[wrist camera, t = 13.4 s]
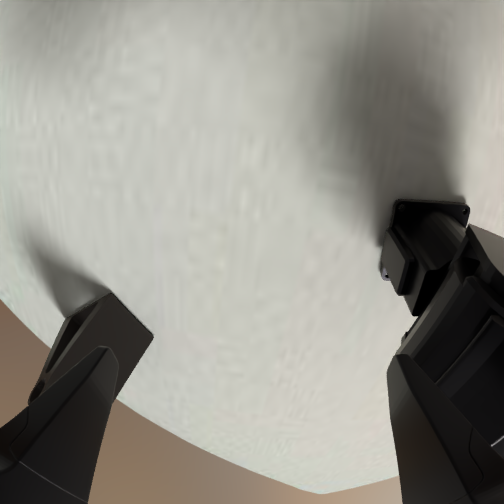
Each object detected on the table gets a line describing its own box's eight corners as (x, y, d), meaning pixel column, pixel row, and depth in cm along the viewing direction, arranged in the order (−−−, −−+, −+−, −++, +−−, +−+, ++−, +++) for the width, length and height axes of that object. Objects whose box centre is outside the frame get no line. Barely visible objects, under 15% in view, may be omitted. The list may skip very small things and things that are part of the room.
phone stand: (112, 291, 25) (51, 402, 15) (155, 335, 28) (115, 446, 18) (65, 318, 28) (14, 405, 18) (102, 354, 31) (63, 442, 20)
